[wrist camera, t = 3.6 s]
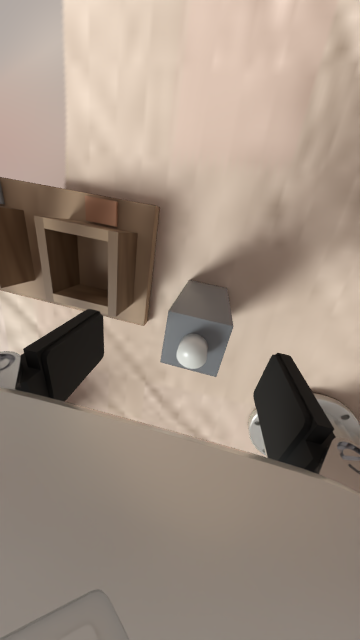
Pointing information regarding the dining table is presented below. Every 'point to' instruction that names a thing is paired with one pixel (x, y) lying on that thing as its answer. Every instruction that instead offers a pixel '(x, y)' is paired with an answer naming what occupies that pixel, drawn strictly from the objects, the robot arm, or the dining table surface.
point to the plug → (198, 328)
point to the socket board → (77, 249)
